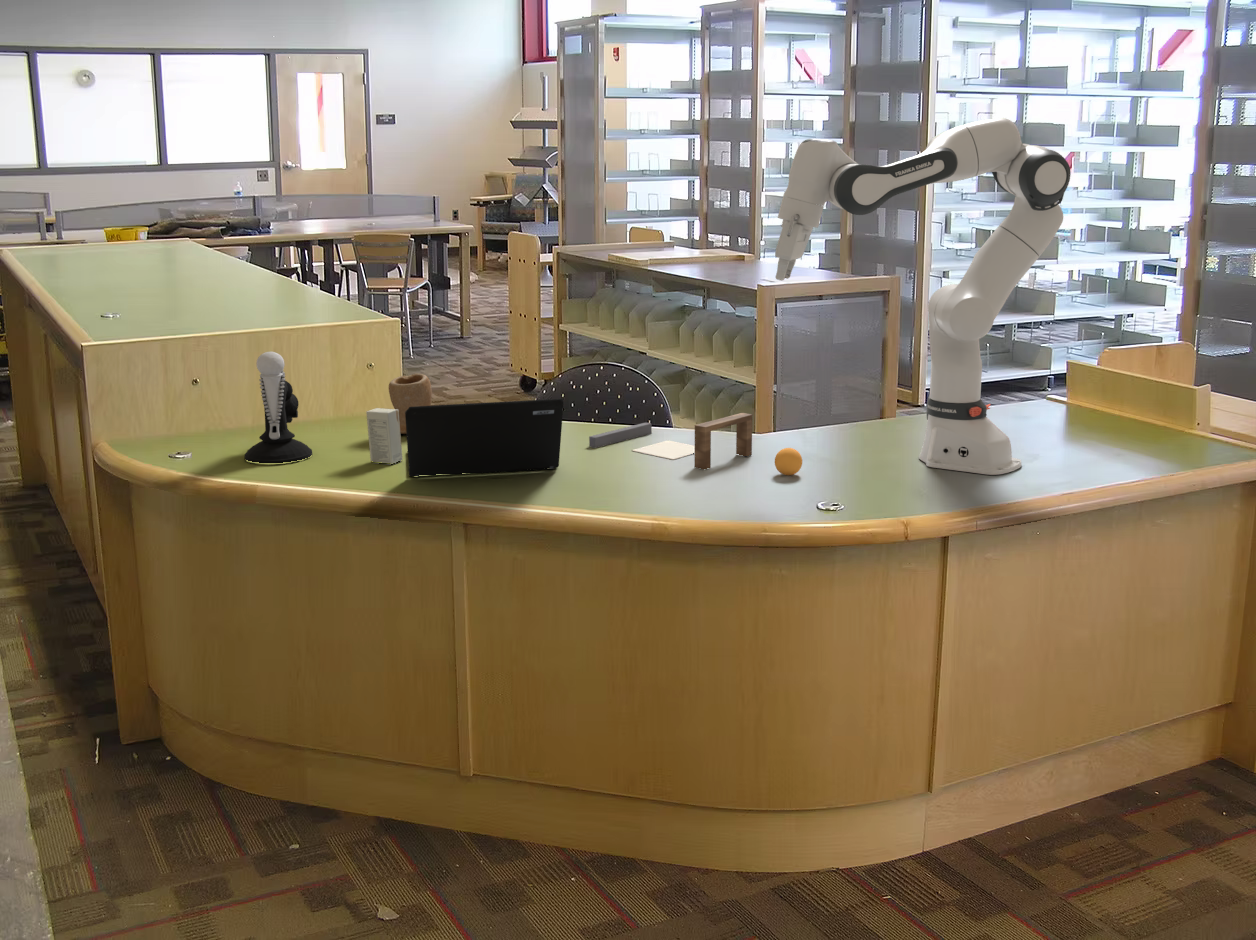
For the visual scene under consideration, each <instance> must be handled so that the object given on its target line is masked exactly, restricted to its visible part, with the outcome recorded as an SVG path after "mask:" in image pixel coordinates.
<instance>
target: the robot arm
mask: <svg viewBox="0 0 1256 940" xmlns="http://www.w3.org/2000/svg"><path fill="white" fill-rule="evenodd" d="M1018 128H1019V127H1017V125H1016V124H1015V122H1014V121H1012V120H1011V119H1008V118H1006V117H1005V118H1004V117H998V118H990V119H983V120H982V119H981V120H977V121H973V122H972V121H971V122H969V123H965V124H962V125H958V126H955V127H952V128H949V129H947V130H945V131H943V132H941V133H939V134H937V135H935V136H934V137H931V139H930V140H929V142H928V143H927V145H926V148H925V150H923V151H922V152H921V153H918V154H915V155H914V156H911V157H907V158H905V159H902V160H898V161H896V162H892V163H889V164H886V165H880V166H879V165H871V164H865V163H861V164H860V163H858V162H856V161H855V160H854V159H853V158H851V157H850V156H849V155H847V153H845V151H844V150H843V149H842V148H841V147H840V146H839V145H838V142H837V141H835V140H833V139H825V138H823V139H822V138H807V139H805V140H803V141H802V142H800V144H799V145H798V147H797V149H796V152H795V155H794V156H793V160H792V163H791V167H790V170H789V172H788V185H787V187H786V190H785V191H784V193H783V196H782V200H781V202H780V203H781V204H780V206H779V211H778V214H777V218H778V219H780V220H782V223H781V231H780V235H779V238H778V242H777V244H776V247H775V253H774V256H775V258H778V263H777V266H776V267H777V268H776V269H777V271H776V275H775V280H778V281H784V280H785V279H790V278H791V276H792V275H791V274H792V272H793V269H794V266H795V264H796V262H797V260H798V259H801V258H802V257H803V255H804V252H805V251H806V248H807V245H808V243H809V241H810V237H811V235H812V232H813V229H814V228H817V229H818V228H819V225H820V222H821V219H822V215H823V211H824V207H825V203H827V202H829V203H831V204H832V205H833V206H835V207H837V208H839V209H841V210H844V211H846V212H847V213H849V214H852V215H855V216H864V215H868V214H871V213H873V212H875V211H876V210H877V209H879V208H880V207H881V206H883V204H884V203H886V202H887V201H888V200H889V199H891V198H892V197H895V196H897V195H900V194H903V193H906V192H909V191H912V190H915V189H918V188H921V187H925V186H927V185H931V184H943V183H952V182H953V183H955V182H958V181H964V180H967V179H971V178H974V177H978V176H981V175H984V174H986V173H992V176H993V178H994V181H995V183H996V184H997V185H998V186H999V188H1001V189H1002V190H1003V191H1005V192H1007V193H1009V194H1011V195H1013V196H1015V197H1014V201H1013V205H1012V208H1011V209H1010V212H1009V214H1008V215H1006V217H1005V218H1004V219H1003V220H1002V221H1001V222H1000V224H999V225H998V226H997V228H996V229H995V230H994V231H993V232H992V233H991V234H990V236H989V237H988V238H987V240H986V241H985V242H984V243H983V245H982V246H981V247H980V248H979V249H978V250H977V252H976V253H975V254H974V256H973V259H972V262H971V263H970V265H969V267H968V268H967V270H966V271H965V273H964V275H963V277H962V278H961V280H960V281H959V283H958V284H957V283H954V284H953V283H952V284H947V285H943V286H942V287H940V288H938V289H936V290H935V291H934V292H933V293H932V295H931V296H930V299H929V301H928V308H927V309H928V310H927V311H928V333H929V348H930V381H929V396H928V397H927V401H926V420H927V422H926V429H925V435H924V440H923V443H922V447H921V449H920V453H919V455H918V458H919V460H921V461H922V462H924V464H925V465H926V467H929V468H935V469H936V468H937V469H942V470H950V471H959V472H965V473H966V472H967V473H974V474H982V475H988V476H989V475H991V476H995V475H1003V474H1009V473H1010V472H1014V471H1016V470H1018V469H1020V468H1021V467H1022V459H1020V458H1016V457H1013V451H1012V443H1011V440H1010V437H1009V436H1008V435H1007V434H1006V433H1004V431H1003V430H1001V429H1000V428H999V426H997V425H996V424H995V423H994V422H993V421H992V420H990V419H989V418H988V415H987V410H990V409H991V403H989V404H985V403H984V402H983V400H982V398H981V391H982V375H983V362H982V361H983V360H982V358H981V357H982V356H981V350H980V349H981V347H980V339H982V338H984V337H985V336H986V335H988V333H989V332H990V331H991V329H992V328H993V326H994V322H995V320H996V318H997V316H998V315H999V313H1000V312H1001V310H1002V309H1003V307H1004V305H1005V304H1006V302H1007V300H1008V298H1009V297H1010V295H1011V293H1012V291H1014V289H1015V287H1016V286H1017V285H1018V283H1019V282H1020V281H1021V280H1022V278H1024V276H1025V275H1026V273H1027V272H1028V271H1029V270H1030V269H1031V267H1033V265H1034V264H1035V263H1036V262H1037V260H1039V258H1040V257H1041V255H1042V254H1043V253H1044V252H1045V251H1046V249H1047V248H1048V246H1049V245H1050V244H1051V243H1052V240H1053V239H1054V238H1055V236H1056V234H1057V233H1058V231H1059V230H1060V229H1061V226H1062V223H1063V221H1064V213H1063V212H1064V211H1063V209H1062V207H1061V206H1060V205H1059V204H1060V203H1062V201H1063V200H1064V197H1065V196H1064V195H1065V193H1066V191H1067V189H1068V186H1069V185H1070V181H1071V176H1072V175H1071V167H1070V165H1069V162H1068V161H1067V159H1066V158H1065V157H1064V156H1063V155H1062V154H1060V152H1057V151H1056V150H1054V149H1049V148H1047V147H1045V146H1041V145H1037V144H1035V145H1033V144H1028V143H1024V142H1023V141H1022V138H1021V137H1022V136H1021V134H1020V133H1021V132H1020V130H1019V129H1018Z"/></svg>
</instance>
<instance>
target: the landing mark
mask: <svg viewBox="0 0 1256 940" xmlns="http://www.w3.org/2000/svg"><path fill="white" fill-rule="evenodd" d="M631 452H634V453H639V454H645V455H649V456H654V457H658V458H663V459H667V460H672V461H675V460H679V459H681V458H684V456H685V457H688V456H687V455H689V456H691V455H690V454H692V455H694V454H693V453H695V445H692V444H688V443H683V442H678V441H674V440H669V439H668V440H667V439H666V440H664V441H660V442H655V443H653V444H649V445H645V446H643V447H642V446H641V447H638V448H635V449H631Z"/></svg>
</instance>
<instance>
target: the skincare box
mask: <svg viewBox="0 0 1256 940" xmlns="http://www.w3.org/2000/svg"><path fill="white" fill-rule="evenodd" d="M365 414H366V421H367V432H368V433H367V435H368V436H367V437H368V444H369V458H370V462H371V461H373V462H382V463H391V464H393V463H395V464H397V463H396V462H398V461H400V462H402V461H403V450H402V437H401V434H400V422H399V410H398V409H394V408H383V407H381V408H379V407H376V408H373V409H370V410H367V411H366V412H365ZM401 460H402V461H401ZM398 463H399V462H398ZM391 464H390V465H391ZM393 465H394V464H393Z"/></svg>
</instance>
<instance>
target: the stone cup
mask: <svg viewBox="0 0 1256 940" xmlns="http://www.w3.org/2000/svg"><path fill="white" fill-rule="evenodd" d="M388 394H389V399H390V401H391V405H392V407H393V409H398V410H399V422H400V434H403V435H406V419H405V411H406V410H407V409H408V408H409V407H415V406H432V400H433V399H432V397H433V389H432V384H431V380H430V378H429V377H428V376H427V375H425V374H423V373H413V374H410V375H400V376H397V377H394V378H393V379H392V380H390V382H389V384H388Z"/></svg>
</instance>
